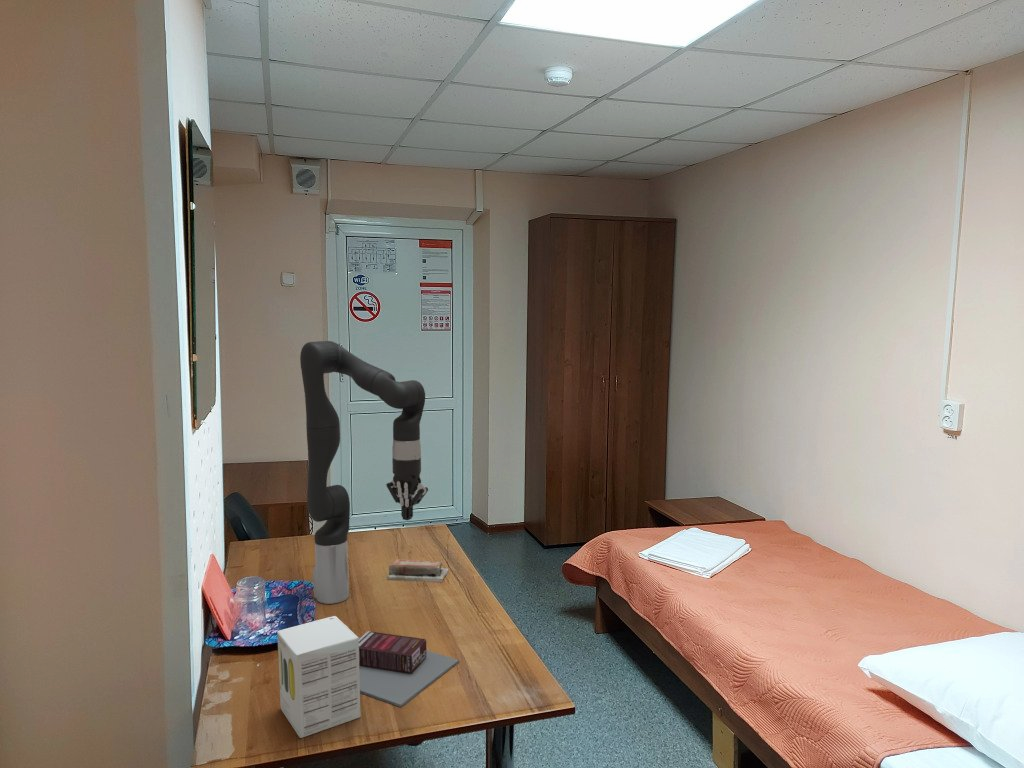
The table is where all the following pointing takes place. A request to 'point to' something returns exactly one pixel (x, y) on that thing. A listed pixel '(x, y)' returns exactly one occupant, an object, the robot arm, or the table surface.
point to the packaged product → (416, 571)
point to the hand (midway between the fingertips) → (407, 519)
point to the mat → (403, 679)
